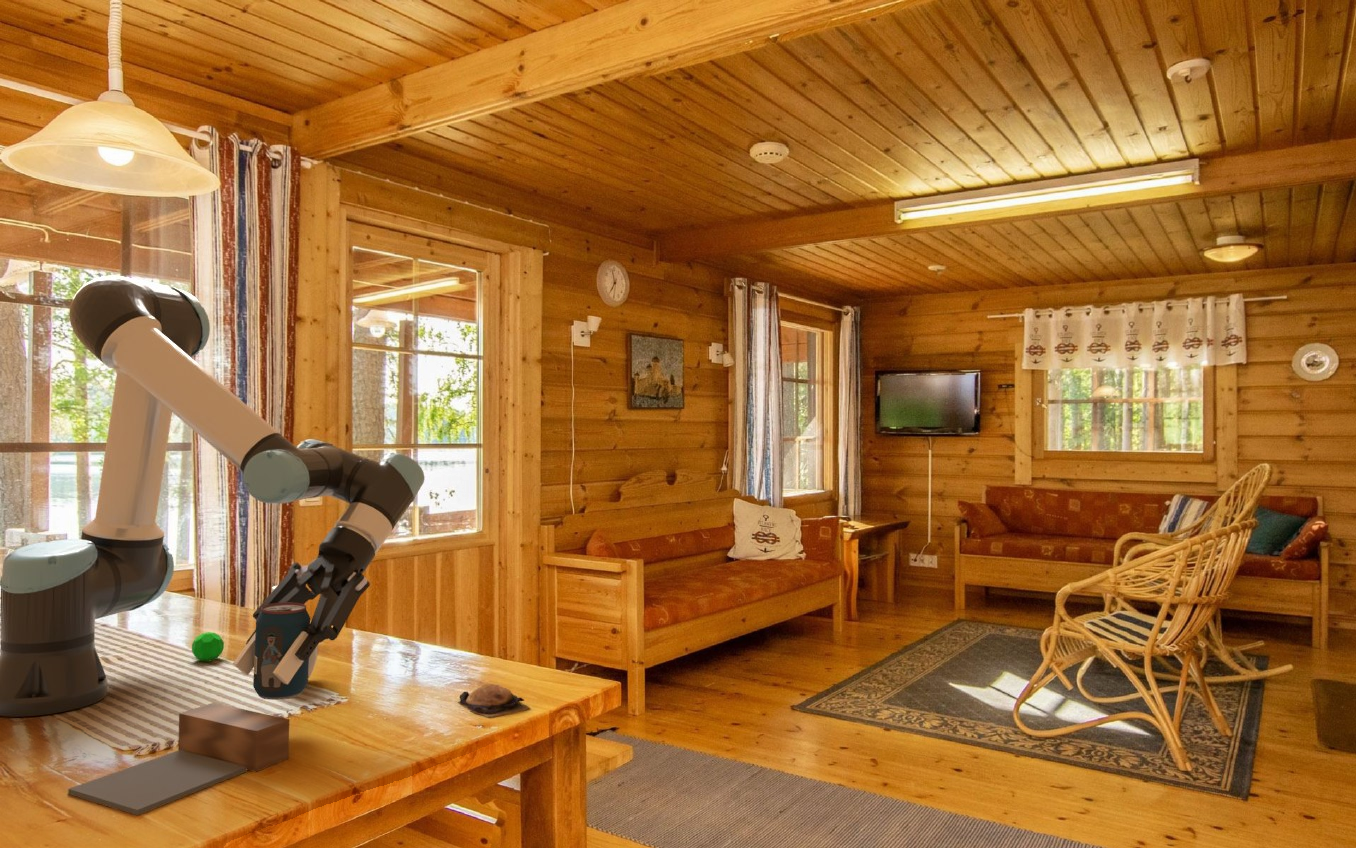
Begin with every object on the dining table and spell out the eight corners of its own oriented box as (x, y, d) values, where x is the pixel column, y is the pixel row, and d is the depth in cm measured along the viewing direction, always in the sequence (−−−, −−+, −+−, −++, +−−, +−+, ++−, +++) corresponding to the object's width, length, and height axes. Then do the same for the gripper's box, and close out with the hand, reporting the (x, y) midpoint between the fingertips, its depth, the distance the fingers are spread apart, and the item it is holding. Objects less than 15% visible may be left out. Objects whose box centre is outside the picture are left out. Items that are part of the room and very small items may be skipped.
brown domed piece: (534, 713, 139) (534, 688, 139) (484, 723, 134) (484, 698, 134) (499, 695, 148) (500, 672, 148) (450, 704, 142) (451, 681, 142)
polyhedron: (185, 662, 160) (185, 635, 160) (205, 655, 165) (205, 629, 165) (209, 665, 159) (210, 637, 159) (229, 658, 164) (230, 631, 164)
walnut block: (178, 752, 119) (179, 713, 119) (212, 740, 123) (213, 702, 123) (255, 771, 113) (256, 731, 113) (288, 758, 117) (289, 719, 117)
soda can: (302, 683, 132) (305, 600, 132) (312, 697, 126) (315, 610, 126) (249, 689, 128) (252, 603, 128) (256, 704, 122) (260, 614, 122)
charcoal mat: (68, 794, 105) (68, 788, 105) (180, 754, 118) (180, 750, 118) (137, 815, 100) (137, 810, 100) (246, 771, 113) (246, 767, 113)
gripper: (417, 563, 137) (329, 701, 122) (318, 549, 145) (225, 677, 130) (394, 531, 132) (298, 670, 117) (293, 518, 140) (192, 647, 126)
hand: (260, 673), depth 124 cm, fingers closed on soda can, 7 cm apart
